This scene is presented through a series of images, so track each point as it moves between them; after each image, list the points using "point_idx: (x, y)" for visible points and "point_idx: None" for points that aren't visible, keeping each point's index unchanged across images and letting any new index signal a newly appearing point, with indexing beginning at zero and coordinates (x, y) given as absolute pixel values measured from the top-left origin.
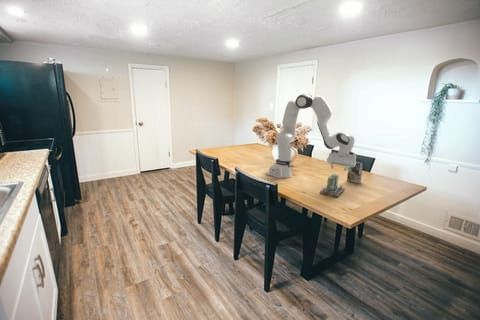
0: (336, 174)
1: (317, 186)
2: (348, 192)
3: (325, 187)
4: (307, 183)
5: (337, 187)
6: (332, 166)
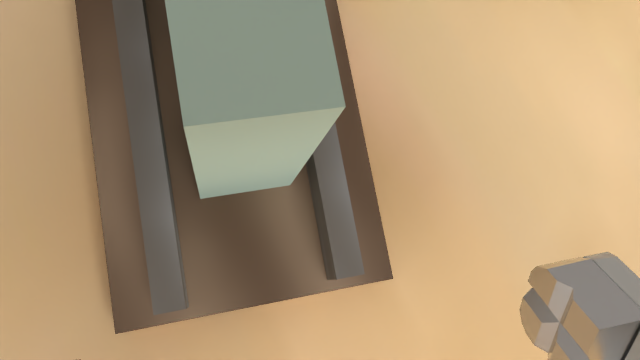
0: (248, 120)
1: (486, 166)
2: (32, 297)
3: (360, 132)
4: (634, 169)
5: (230, 283)
6: (585, 285)
